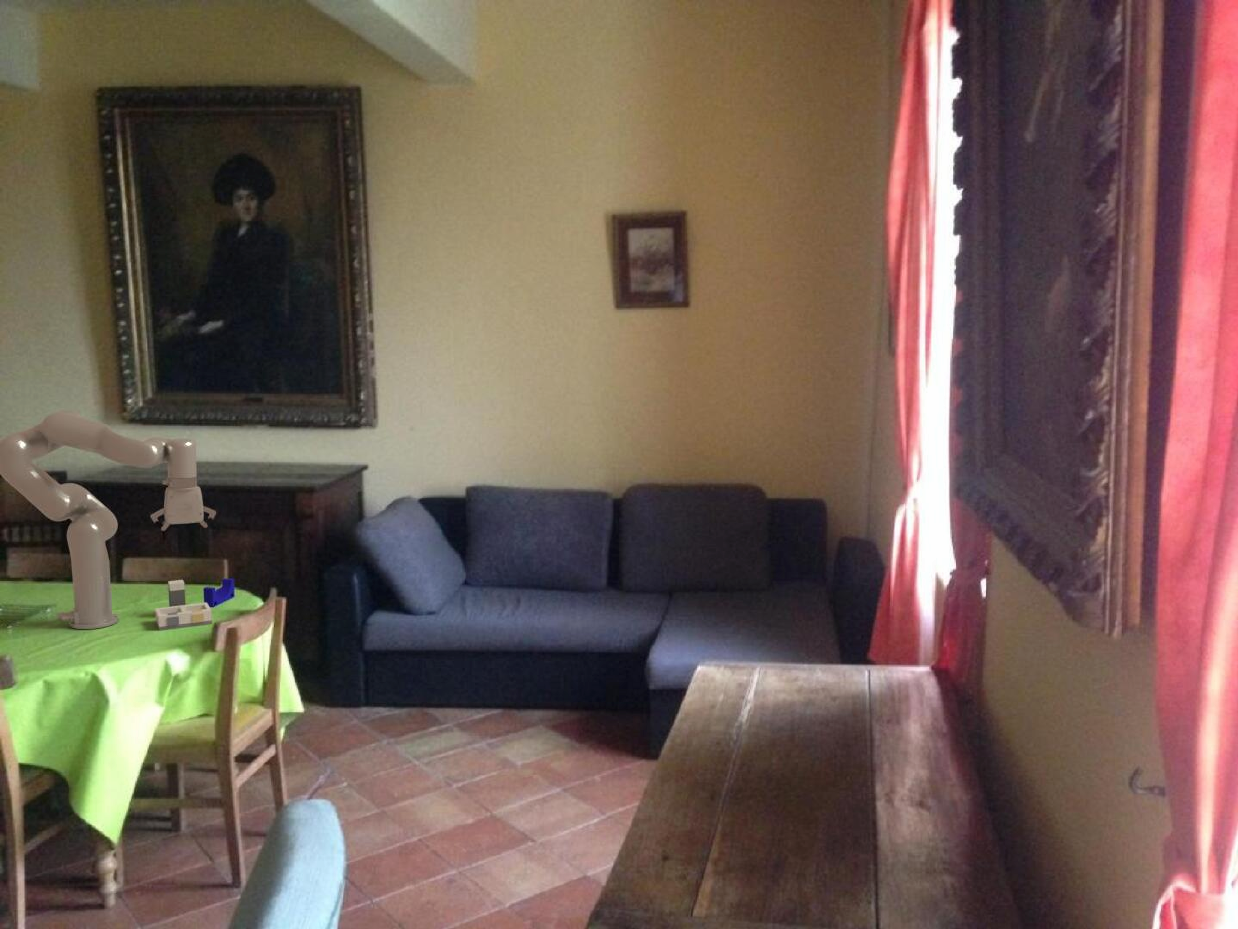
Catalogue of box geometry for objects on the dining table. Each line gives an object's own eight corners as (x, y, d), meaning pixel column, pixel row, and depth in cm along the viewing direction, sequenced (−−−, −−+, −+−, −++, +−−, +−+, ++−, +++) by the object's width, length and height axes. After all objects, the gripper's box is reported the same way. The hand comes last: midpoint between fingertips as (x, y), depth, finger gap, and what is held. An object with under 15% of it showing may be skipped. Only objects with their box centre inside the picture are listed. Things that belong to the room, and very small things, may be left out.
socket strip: (159, 630, 297) (158, 616, 297) (155, 622, 305) (154, 607, 305) (212, 623, 304) (211, 609, 304) (207, 615, 312) (206, 601, 312)
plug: (171, 617, 310) (169, 584, 308) (169, 614, 313) (168, 581, 312) (186, 616, 312) (184, 582, 310) (184, 612, 315) (182, 579, 314)
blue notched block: (221, 596, 333) (220, 578, 332) (234, 597, 332) (233, 579, 331) (199, 607, 321) (198, 588, 321) (213, 608, 321) (212, 588, 320)
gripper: (150, 486, 293) (152, 547, 296) (216, 483, 301) (218, 542, 304) (148, 482, 299) (150, 541, 302) (213, 479, 308) (214, 537, 310)
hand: (184, 542), depth 303 cm, fingers open, 9 cm apart
